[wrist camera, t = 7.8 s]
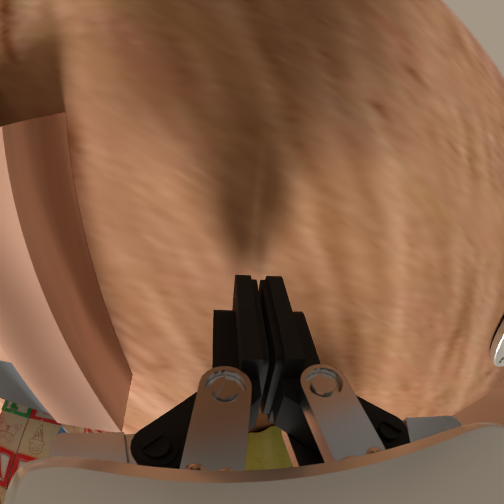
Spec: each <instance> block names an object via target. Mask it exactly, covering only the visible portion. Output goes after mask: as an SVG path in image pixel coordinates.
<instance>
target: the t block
mask: <svg viewBox="0 0 504 504" xmlns="http://www.w3.org/2000/svg"><path fill="white" fill-rule="evenodd" d="M0 360H1V361H5V362H11V363H12V364H13V366H14V367H15V369H16V370H17V371H18V373H19V374H20V376H21V377H22V379H23V380H24V381H25V383H26V384H27V385H28V387H29V388H30V389H31V391H32V392H33V393H34V395H35V396H36V397H37V399H38V400H39V401H40V402H41V404H42V405H43V406H44V407H45V408H46V410H47V411H48V412H49V413H50V414H51V416H52V417H53V418H54V419H55V420H56V421H57V422H58V423H62V424H67V425H72V426H77V427H83V428H89V429H96V430H103V431H110V432H122V428H123V422H124V416H125V411H126V405H127V400H128V395H129V390H130V385H131V380H132V372H131V370H130V368H129V365H128V363H127V361H126V358H125V356H124V354H123V351H122V349H121V346H120V344H119V341H118V339H117V336H116V333H115V331H114V328H113V325H112V323H111V320H110V317H109V314H108V311H107V308H106V305H105V303H104V300H103V296H102V293H101V290H100V287H99V284H98V281H97V277H96V274H95V270H94V267H93V263H92V260H91V256H90V252H89V249H88V245H87V241H86V237H85V233H84V228H83V224H82V220H81V215H80V210H79V205H78V200H77V195H76V190H75V184H74V178H73V172H72V165H71V158H70V150H69V142H68V133H67V122H66V112H64V113H58V114H53V115H48V116H43V117H38V118H33V119H29V120H25V121H20V122H16V123H12V124H9V125H5V126H1V127H0Z"/></svg>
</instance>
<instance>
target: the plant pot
mask: <svg viewBox="0 0 504 504" xmlns="http://www.w3.org/2000/svg"><path fill="white" fill-rule="evenodd" d="M281 431H282V430H281V429H280V428H278V427H277V426H271V427H269V428H267V429H266V430H264V431H262V432H258V433H254V432H250V433H248V438H247V449H246V460H245V470H265V469H279V468H289V467H293V465H292V462H291V459H290V456H289V454H288V451H287V448H286V445H285V442H284V440H283V437H282V432H281Z"/></svg>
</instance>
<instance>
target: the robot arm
mask: <svg viewBox="0 0 504 504" xmlns="http://www.w3.org/2000/svg"><path fill="white" fill-rule="evenodd" d="M490 357H491V360H492V361H493V363H494V364H495V365H496V366H499V367H501V366H504V319H503V321H502V323H501V325H500V327H499V329H498V330H497V332H496V335H495V337H494V339H493V342H492V345H491V349H490ZM260 404H261V411H262V414H267V416H268V422H274V425H275V426H277V427H278V428H280V429H281V430H282V431H281V432H282V437H283V440H284V442H285V445H286V448H287V451H288V454H289V456H290V459H291V462H292V465H293V467H289V468H279V469H265V470H245V460H246V449H247V438H248V432H249V431H250V430H251V429H252V428H253V427H254V426H255V423H256V419H257V415H258V412H259V407H260ZM3 504H504V426H503V425H500V424H496V423H473V424H467V425H463V426H462V425H461V423H460V422H459V421H458V420H457V419H456V418H454V417H452V416H436V417H416V418H405V420H401V419H399V418H398V417H396V416H394V415H392V414H390V413H388V412H386V411H384V410H383V409H381V408H379V407H377V406H375V405H373V404H371V403H369V402H367V401H366V400H364V399H362V398H360V397H358V396H356V395H355V393H354V391H353V389H352V388H351V386H350V384H349V382H348V381H347V379H346V377H345V376H344V375H343V373H342V372H341V371H339V370H338V369H337V368H335V367H332V366H330V365H325V364H320V361H319V358H318V355H317V352H316V349H315V346H314V343H313V340H312V337H311V334H310V331H309V328H308V325H307V322H306V319H305V316H304V314H303V312H292V308H291V305H290V302H289V298H288V295H287V292H286V288H285V285H284V282H283V278H282V277H281V276H266V279H265V280H260V285H259V291H258V285H257V280H253V279H251V276H250V275H235V284H234V297H233V310H232V311H229V310H214V317H213V368H212V369H210V370H208V371H207V372H206V373H205V374H204V375H203V376H202V378H201V380H200V382H199V386H198V390H197V392H196V393H194V394H193V395H192V396H190V397H189V398H187V399H186V400H184V401H183V402H182V403H180V404H179V405H177V406H176V407H174V408H173V409H171V410H170V411H168V412H167V413H165V414H164V415H162V416H161V417H159V418H158V419H156V420H155V421H153V422H152V423H150V424H149V425H147V426H146V427H144V428H142V429H141V430H140V431H138V432H137V433H136V434H124V432H111V433H61V434H59V435H57V436H56V437H54V439H53V440H52V441H51V443H50V448H49V457H46V458H40V459H36V460H32V461H29V462H27V463H25V464H23V465H22V466H21V467H20V468H19V469H18V470H17V471H16V472H15V474H14V476H13V477H12V479H11V482H10V484H9V486H8V489H7V492H6V495H5V499H4V502H3Z"/></svg>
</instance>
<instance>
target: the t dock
mask: <svg viewBox="0 0 504 504" xmlns="http://www.w3.org/2000/svg"><path fill="white" fill-rule="evenodd" d="M0 398H2V399H5V400H8V401H11V402H13V403H16V404H19V405H22V406H26V407H29V408H32V409H35V410H39V411H42V412H46V413H49V412H48V411H47V410H46V408H45V407H44V406H43V405H42V404H41V402H40V401H39V400H38V399H37V397H36V396H35V395H34V393H33V392H32V391H31V389H30V388H29V387H28V385H27V384H26V383H25V381H24V380H23V379H22V377H21V376H20V374H19V373H18V371H17V370H16V369H15V367H14V366H13V364H12V363H11V362H5V361H1V360H0Z"/></svg>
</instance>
